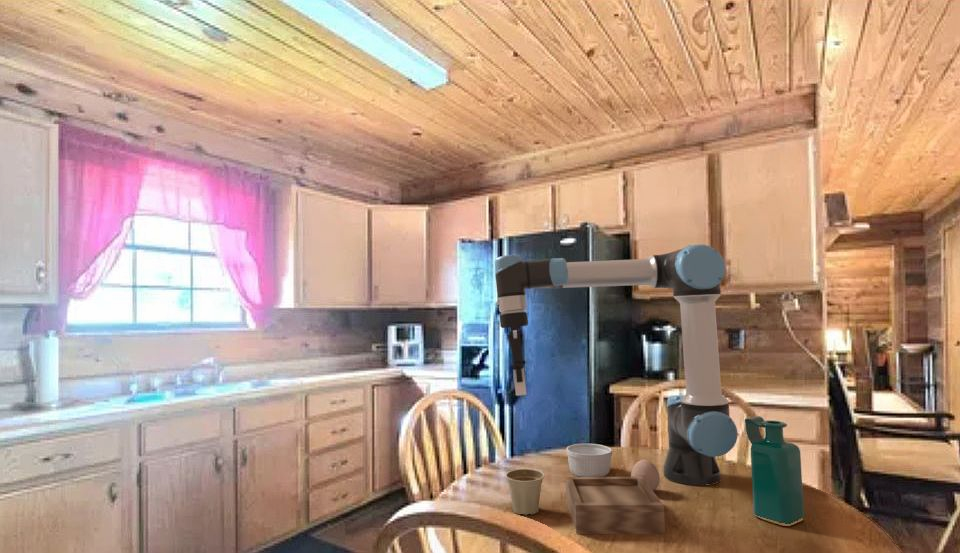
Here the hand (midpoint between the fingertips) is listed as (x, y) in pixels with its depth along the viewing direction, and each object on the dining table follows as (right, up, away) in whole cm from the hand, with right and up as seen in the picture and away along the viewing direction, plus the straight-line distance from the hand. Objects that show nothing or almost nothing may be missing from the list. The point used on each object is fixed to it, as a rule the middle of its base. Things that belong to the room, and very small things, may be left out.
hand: (521, 391), depth 141 cm
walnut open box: (+20, -26, -17) cm, 37 cm away
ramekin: (+22, -28, +16) cm, 39 cm away
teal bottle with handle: (+57, -25, -20) cm, 65 cm away
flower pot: (0, -26, -13) cm, 29 cm away
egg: (+33, -26, -2) cm, 42 cm away
